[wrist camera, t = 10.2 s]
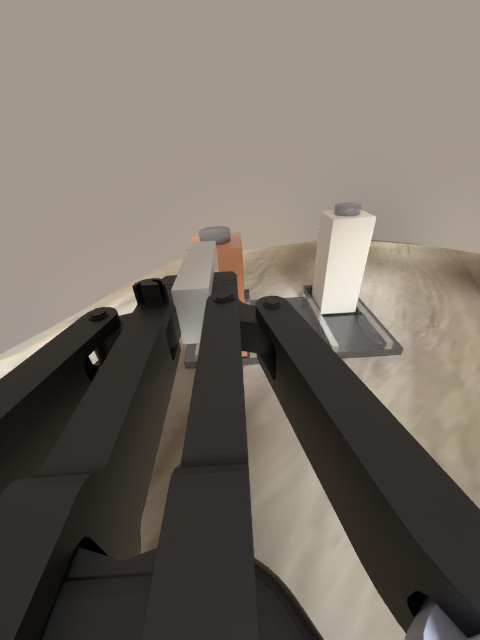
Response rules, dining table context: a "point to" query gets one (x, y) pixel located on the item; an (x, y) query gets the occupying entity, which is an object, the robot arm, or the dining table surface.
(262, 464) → the dining table surface
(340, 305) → the white square bottle
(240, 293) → the orange square bottle
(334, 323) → the dark grey divided tray
